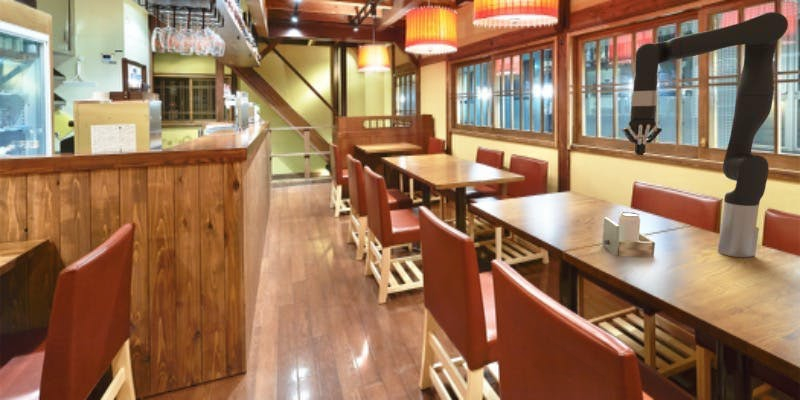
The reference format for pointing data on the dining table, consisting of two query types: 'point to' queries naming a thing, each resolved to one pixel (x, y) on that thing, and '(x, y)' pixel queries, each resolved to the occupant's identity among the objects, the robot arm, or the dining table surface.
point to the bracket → (611, 236)
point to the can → (629, 227)
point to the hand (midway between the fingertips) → (639, 155)
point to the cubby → (637, 248)
